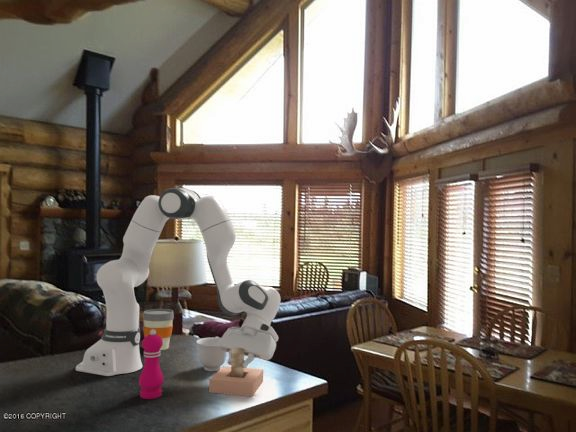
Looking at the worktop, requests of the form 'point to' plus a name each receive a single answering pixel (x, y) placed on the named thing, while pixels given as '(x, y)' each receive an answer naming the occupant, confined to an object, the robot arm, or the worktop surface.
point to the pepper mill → (151, 367)
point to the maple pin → (237, 362)
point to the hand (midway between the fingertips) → (236, 365)
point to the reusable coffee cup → (159, 324)
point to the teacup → (210, 353)
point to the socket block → (236, 382)
